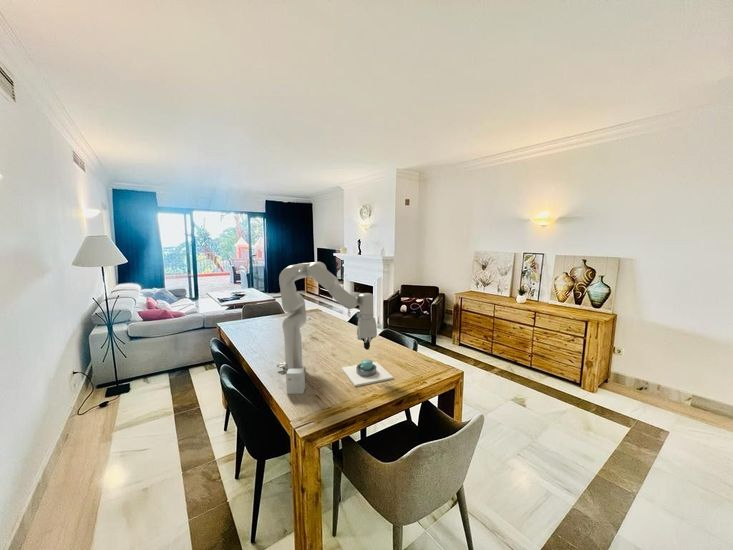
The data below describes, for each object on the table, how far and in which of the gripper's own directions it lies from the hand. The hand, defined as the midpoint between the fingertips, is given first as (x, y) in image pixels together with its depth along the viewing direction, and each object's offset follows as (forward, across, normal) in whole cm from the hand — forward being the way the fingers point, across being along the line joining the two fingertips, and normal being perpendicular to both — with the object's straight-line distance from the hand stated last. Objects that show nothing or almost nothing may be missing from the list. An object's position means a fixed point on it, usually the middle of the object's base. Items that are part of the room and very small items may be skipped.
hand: (366, 348), depth 163 cm
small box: (+14, -39, -4) cm, 42 cm away
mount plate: (+14, 0, 0) cm, 15 cm away
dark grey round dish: (+14, 0, 0) cm, 15 cm away
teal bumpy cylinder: (+13, 0, 0) cm, 13 cm away
